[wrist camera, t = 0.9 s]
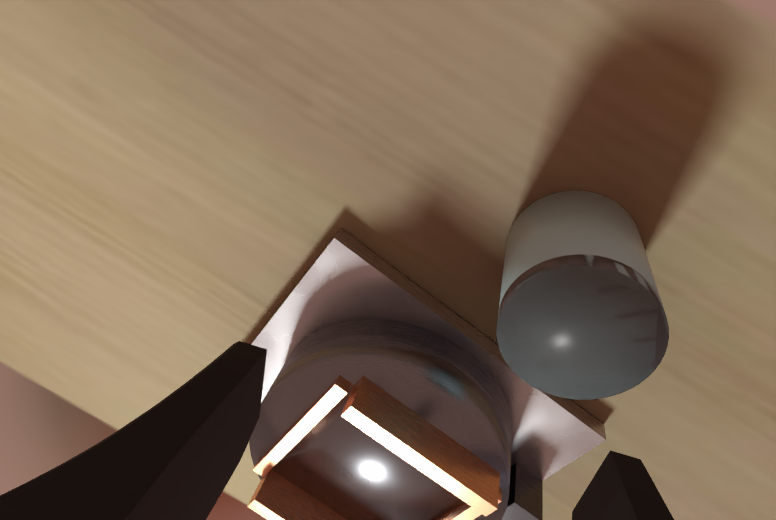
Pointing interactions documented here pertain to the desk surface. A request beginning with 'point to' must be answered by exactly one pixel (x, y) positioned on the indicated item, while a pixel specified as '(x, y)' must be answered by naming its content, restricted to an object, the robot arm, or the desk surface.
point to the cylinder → (579, 299)
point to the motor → (398, 406)
